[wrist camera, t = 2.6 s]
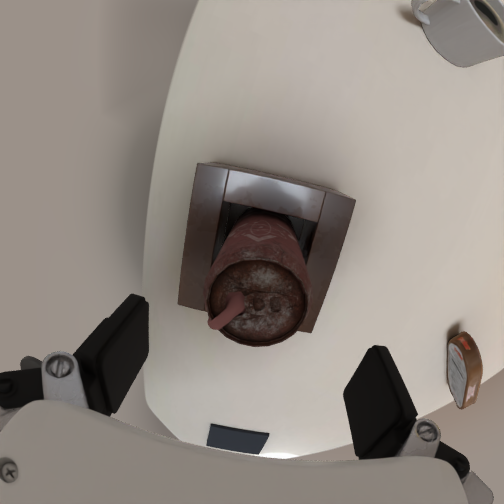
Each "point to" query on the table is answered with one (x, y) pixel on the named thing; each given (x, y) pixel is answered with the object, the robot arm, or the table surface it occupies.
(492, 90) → the table surface
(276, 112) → the table surface
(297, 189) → the holder
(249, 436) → the mat
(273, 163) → the table surface
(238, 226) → the can
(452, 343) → the tin
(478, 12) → the mug
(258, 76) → the table surface
